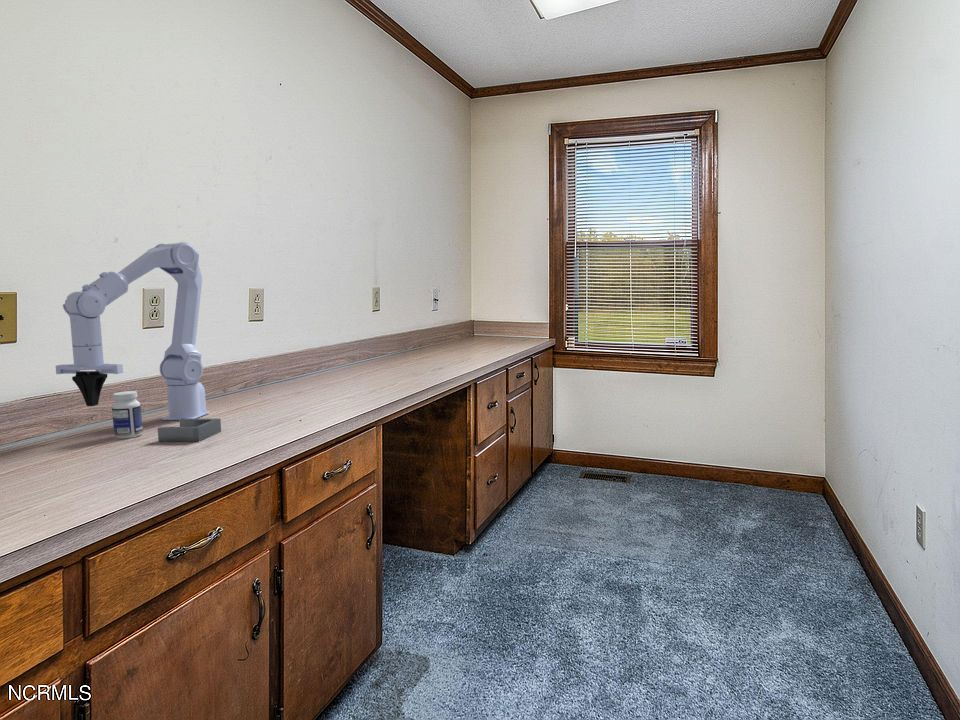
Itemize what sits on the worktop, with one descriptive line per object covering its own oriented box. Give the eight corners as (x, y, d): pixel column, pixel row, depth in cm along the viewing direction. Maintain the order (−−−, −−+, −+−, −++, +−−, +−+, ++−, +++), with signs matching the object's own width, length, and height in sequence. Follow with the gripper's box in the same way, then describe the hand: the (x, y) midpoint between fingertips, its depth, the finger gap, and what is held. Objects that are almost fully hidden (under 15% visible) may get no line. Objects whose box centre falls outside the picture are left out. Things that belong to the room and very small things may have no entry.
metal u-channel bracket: (183, 431, 149) (182, 418, 149) (221, 431, 149) (220, 418, 148) (158, 441, 139) (157, 427, 139) (199, 441, 139) (198, 428, 138)
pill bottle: (136, 432, 149) (133, 389, 148) (147, 435, 146) (144, 392, 144) (109, 436, 145) (106, 393, 144) (120, 440, 141) (117, 395, 140)
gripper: (43, 347, 140) (48, 408, 142) (106, 346, 139) (111, 408, 140) (66, 344, 147) (71, 402, 149) (126, 344, 146) (131, 403, 147)
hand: (92, 405), depth 145 cm, fingers closed
